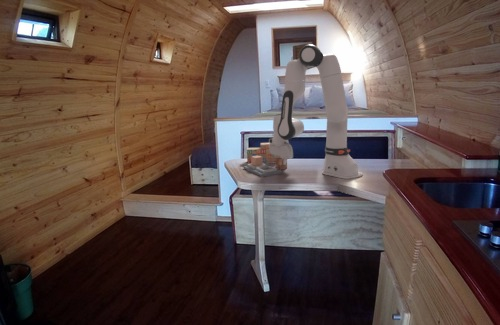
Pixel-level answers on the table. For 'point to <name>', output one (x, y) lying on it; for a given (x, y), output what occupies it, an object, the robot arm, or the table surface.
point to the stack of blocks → (261, 153)
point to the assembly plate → (261, 167)
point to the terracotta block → (280, 163)
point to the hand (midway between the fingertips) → (281, 163)
